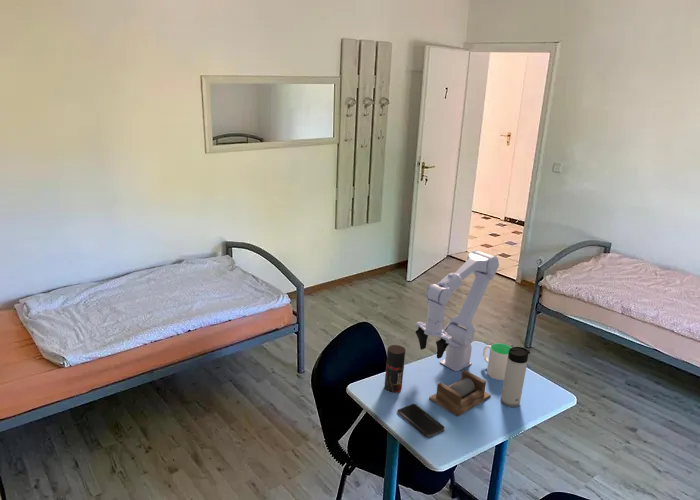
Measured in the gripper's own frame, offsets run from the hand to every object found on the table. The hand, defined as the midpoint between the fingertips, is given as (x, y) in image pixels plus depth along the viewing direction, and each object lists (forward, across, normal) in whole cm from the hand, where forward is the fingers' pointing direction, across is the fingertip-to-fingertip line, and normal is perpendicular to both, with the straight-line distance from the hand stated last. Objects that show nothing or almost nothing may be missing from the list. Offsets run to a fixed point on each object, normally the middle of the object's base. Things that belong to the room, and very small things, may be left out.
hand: (431, 353), depth 195 cm
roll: (+9, +15, -1) cm, 17 cm away
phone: (+10, +15, -21) cm, 28 cm away
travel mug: (+10, +27, +11) cm, 31 cm away
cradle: (+10, +15, -1) cm, 18 cm away
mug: (+10, +12, +23) cm, 28 cm away
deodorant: (+10, -3, -15) cm, 18 cm away
